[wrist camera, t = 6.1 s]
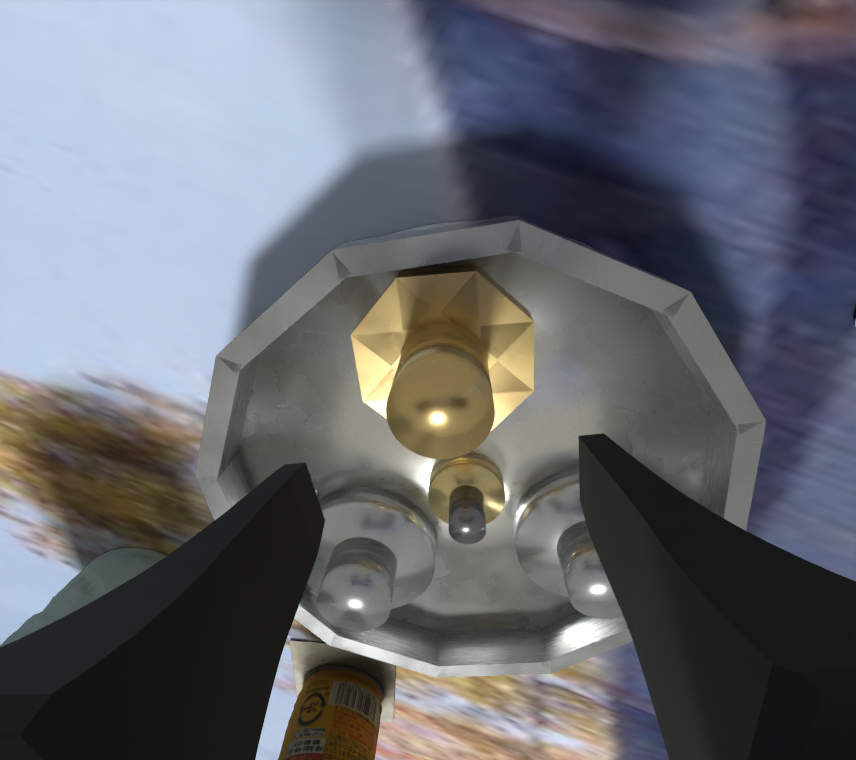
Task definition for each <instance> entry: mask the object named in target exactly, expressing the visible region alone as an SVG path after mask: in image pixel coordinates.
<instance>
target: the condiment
mask: <svg viewBox="0 0 856 760" xmlns="http://www.w3.org/2000/svg"><path fill="white" fill-rule="evenodd" d="M290 644H291V652H292V661H293V670H294V676H295V681H296V690H297V701H296V703H295V705H294V710H293V712H292V715H291V717H290V720H289V723H288V727H287V730H286V733H285V737H284V741H283V745H282V748H281V752H280V756H279V759H278V760H375V753H376V746H377V739H378V733H379V725H380V721H381V722H393V718H394V694H395V665H393V664H390V663H387V662H383V661H380V660H376V659H373V658H370V657H366V656H363V655H360V654H356V653H353V652H350V651H346V650H343V649H340V648H336V647H333V646H330V645H328V644H323V643H316V642H310V641H309V642H300V641H291V640H290ZM322 659H326V660H325V661H322ZM318 662H322V663H321V664H319V663H318ZM377 674H378V675H377Z"/></svg>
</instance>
